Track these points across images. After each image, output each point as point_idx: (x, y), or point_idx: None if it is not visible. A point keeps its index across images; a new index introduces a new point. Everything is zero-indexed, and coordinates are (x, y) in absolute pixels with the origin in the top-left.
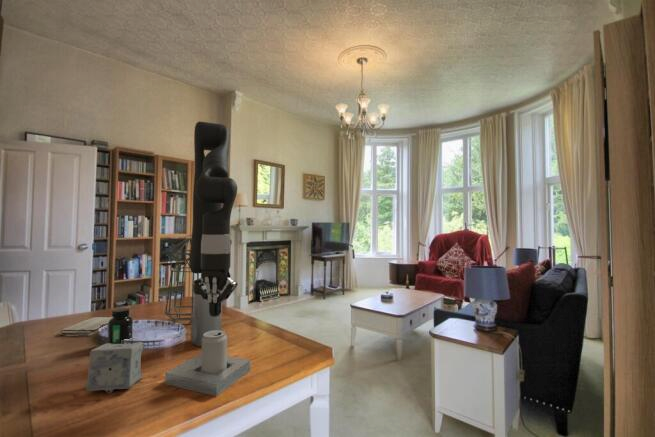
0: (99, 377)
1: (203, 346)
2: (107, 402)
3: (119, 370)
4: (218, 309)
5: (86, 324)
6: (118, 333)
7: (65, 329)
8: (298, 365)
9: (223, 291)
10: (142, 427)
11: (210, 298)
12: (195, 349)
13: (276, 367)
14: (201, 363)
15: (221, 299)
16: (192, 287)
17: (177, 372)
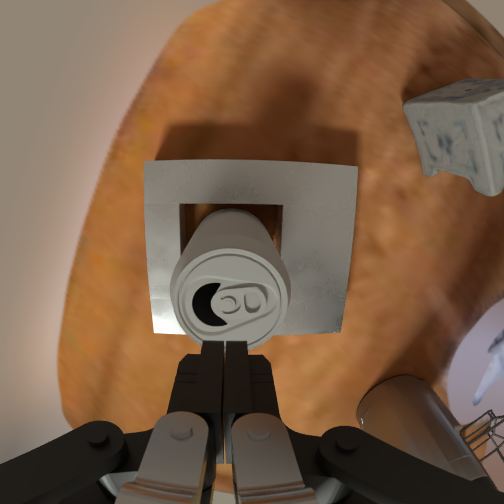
0: (468, 84)
1: (249, 232)
2: (400, 62)
3: (449, 95)
4: (175, 386)
5: None
6: None
7: None
8: (77, 371)
9: (29, 496)
10: (237, 6)
11: (248, 447)
12: (396, 360)
13: (112, 351)
14: (291, 259)
15: (86, 433)
16: (496, 488)
17: (322, 177)
